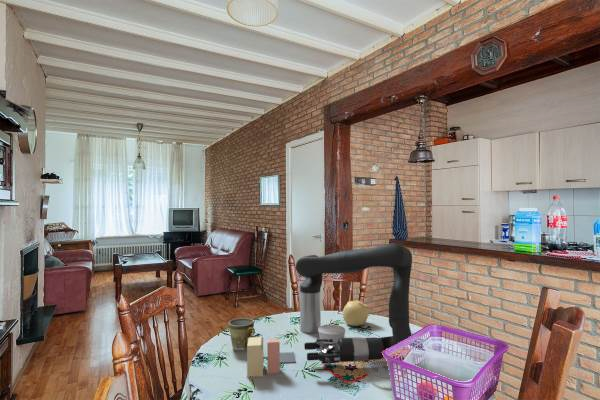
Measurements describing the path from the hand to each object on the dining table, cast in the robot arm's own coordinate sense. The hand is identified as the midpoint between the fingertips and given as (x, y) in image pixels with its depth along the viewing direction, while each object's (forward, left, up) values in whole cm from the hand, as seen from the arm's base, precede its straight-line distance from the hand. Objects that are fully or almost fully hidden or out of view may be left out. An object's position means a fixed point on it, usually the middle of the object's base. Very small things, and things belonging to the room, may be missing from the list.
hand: (305, 351), depth 113 cm
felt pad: (-11, -4, -6) cm, 13 cm away
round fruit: (-35, +39, -6) cm, 52 cm away
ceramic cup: (-25, -16, -6) cm, 30 cm away
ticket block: (-4, -16, -6) cm, 18 cm away
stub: (-3, -10, -6) cm, 12 cm away
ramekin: (-19, +19, -6) cm, 27 cm away
